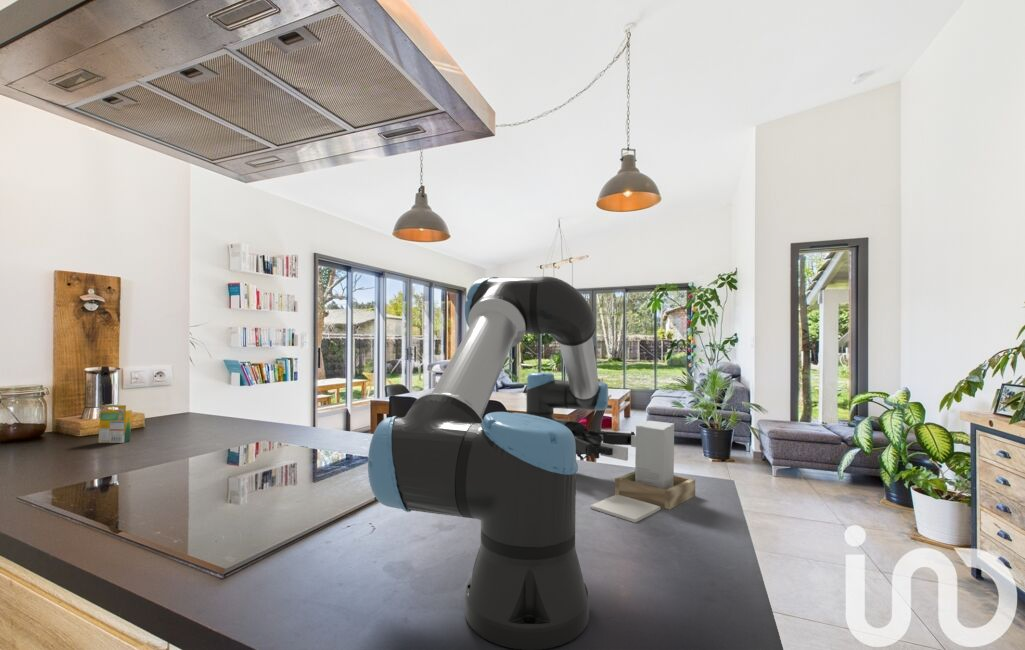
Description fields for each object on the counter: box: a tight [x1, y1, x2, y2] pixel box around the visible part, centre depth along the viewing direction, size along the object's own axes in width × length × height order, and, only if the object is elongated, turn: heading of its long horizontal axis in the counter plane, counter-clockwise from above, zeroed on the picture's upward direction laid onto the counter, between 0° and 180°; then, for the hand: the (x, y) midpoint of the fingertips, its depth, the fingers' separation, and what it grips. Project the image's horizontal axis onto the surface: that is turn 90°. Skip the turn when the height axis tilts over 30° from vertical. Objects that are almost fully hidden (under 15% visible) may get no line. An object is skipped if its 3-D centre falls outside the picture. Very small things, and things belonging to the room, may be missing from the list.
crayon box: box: [97, 404, 133, 444], centre depth 142 cm, size 7×3×12 cm, turn 97°
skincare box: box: [634, 420, 675, 490], centre depth 100 cm, size 8×7×16 cm
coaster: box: [589, 494, 662, 523], centre depth 91 cm, size 10×10×1 cm
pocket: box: [614, 470, 696, 510], centre depth 100 cm, size 12×12×4 cm
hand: (642, 449), depth 103 cm, fingers open, 13 cm apart
